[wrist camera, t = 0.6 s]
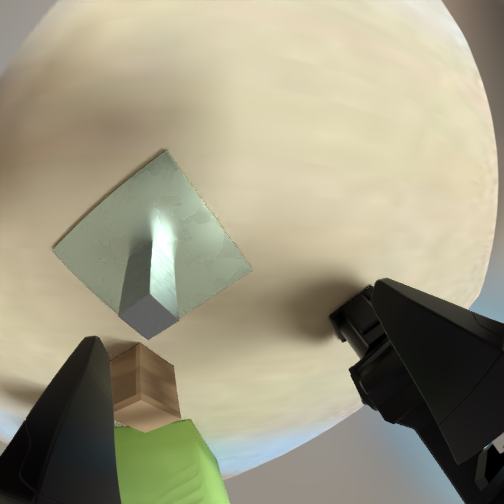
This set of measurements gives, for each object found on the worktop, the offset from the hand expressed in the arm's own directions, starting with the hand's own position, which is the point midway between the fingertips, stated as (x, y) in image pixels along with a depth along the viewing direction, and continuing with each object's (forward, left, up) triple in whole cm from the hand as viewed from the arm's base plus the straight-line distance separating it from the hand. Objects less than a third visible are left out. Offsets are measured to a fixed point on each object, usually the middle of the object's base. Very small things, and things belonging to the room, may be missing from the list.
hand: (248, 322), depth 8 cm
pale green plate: (-2, +6, -14) cm, 15 cm away
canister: (-32, +36, -14) cm, 50 cm away
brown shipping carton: (-11, +16, -14) cm, 24 cm away
